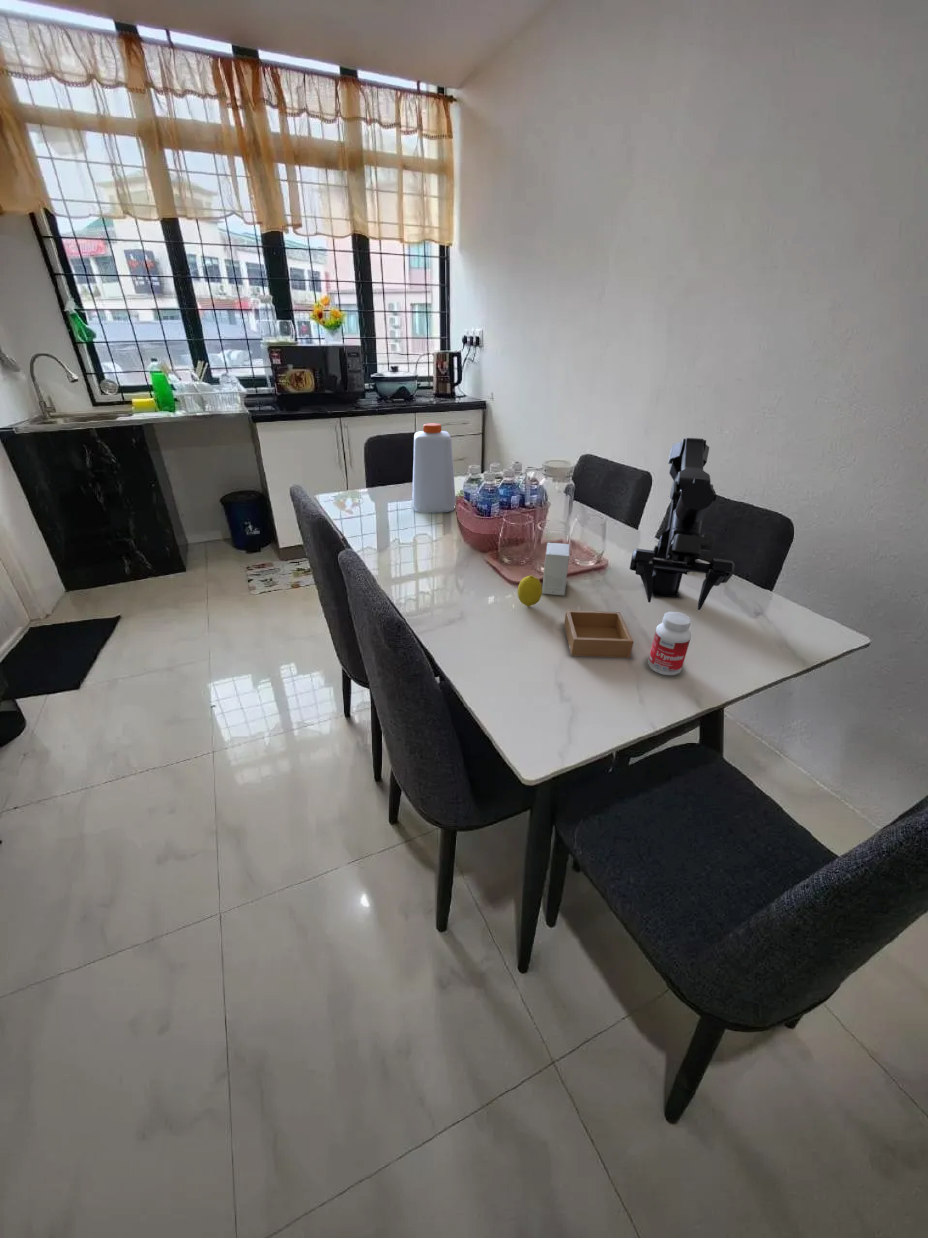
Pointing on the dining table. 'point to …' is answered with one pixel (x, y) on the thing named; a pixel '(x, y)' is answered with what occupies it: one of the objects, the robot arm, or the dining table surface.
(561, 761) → the dining table surface
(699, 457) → the robot arm
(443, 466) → the plastic bottle
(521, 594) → the lemon
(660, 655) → the pill bottle
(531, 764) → the dining table surface
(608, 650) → the open box
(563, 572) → the small box
